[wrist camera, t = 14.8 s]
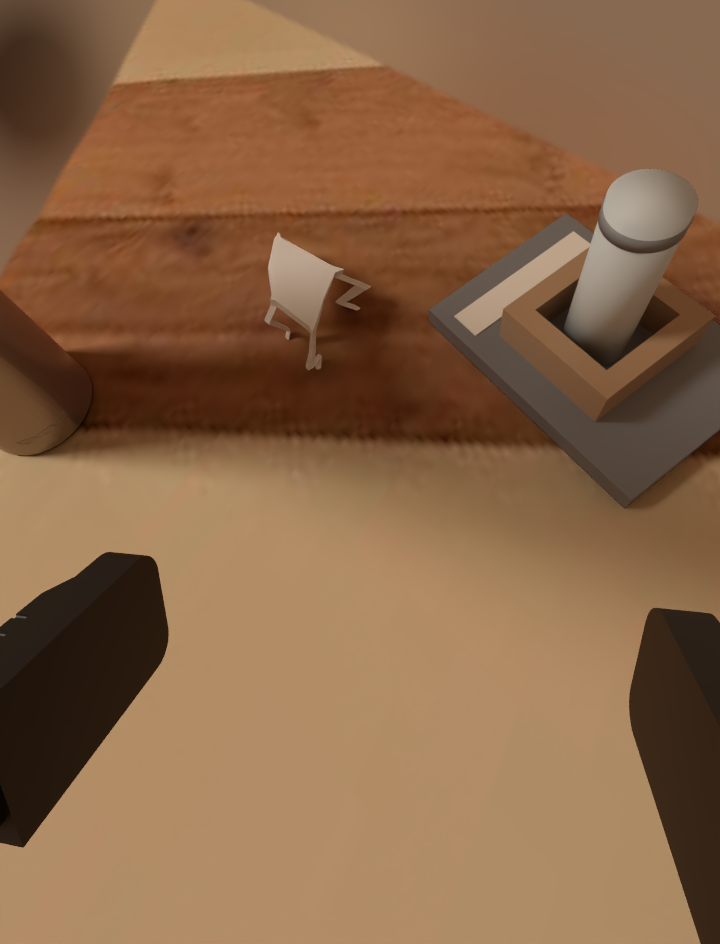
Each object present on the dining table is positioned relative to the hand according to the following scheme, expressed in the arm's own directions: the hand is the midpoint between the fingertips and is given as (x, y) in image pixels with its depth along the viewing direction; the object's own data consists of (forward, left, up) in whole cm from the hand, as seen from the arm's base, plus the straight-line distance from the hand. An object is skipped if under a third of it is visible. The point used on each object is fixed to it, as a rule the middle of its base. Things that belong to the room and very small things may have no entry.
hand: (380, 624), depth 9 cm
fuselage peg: (-11, +24, -25) cm, 36 cm away
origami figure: (-28, +11, -27) cm, 41 cm away
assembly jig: (-11, +24, -27) cm, 37 cm away
